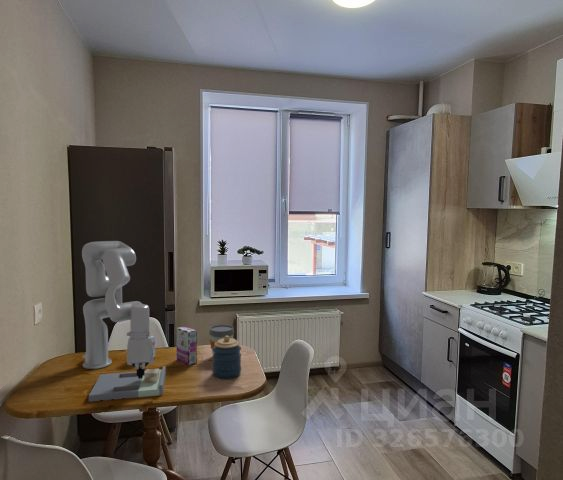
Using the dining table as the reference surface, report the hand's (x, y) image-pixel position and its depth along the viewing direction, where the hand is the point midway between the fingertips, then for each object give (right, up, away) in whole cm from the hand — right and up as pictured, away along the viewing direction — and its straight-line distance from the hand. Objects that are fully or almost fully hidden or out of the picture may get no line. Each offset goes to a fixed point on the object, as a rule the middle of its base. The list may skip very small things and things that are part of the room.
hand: (140, 377), depth 162 cm
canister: (+34, -4, +14) cm, 37 cm away
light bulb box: (-10, -2, +31) cm, 33 cm away
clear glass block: (+5, -1, 0) cm, 5 cm away
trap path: (-5, -4, -1) cm, 6 cm away
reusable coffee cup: (+29, -2, +36) cm, 46 cm away
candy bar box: (+12, -3, +29) cm, 31 cm away
